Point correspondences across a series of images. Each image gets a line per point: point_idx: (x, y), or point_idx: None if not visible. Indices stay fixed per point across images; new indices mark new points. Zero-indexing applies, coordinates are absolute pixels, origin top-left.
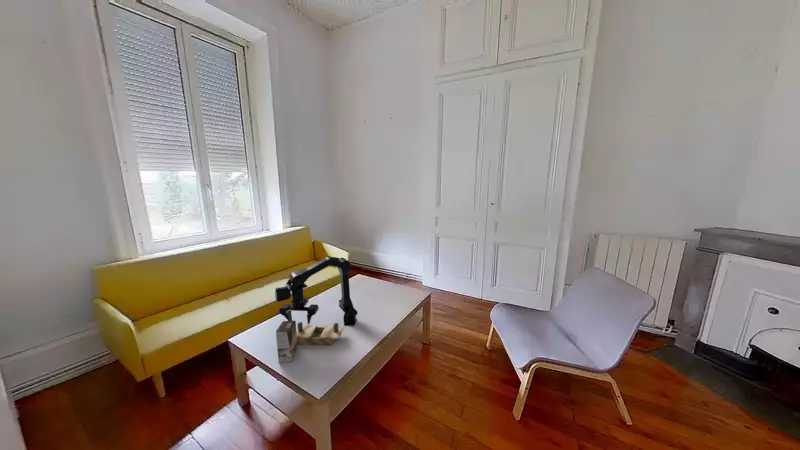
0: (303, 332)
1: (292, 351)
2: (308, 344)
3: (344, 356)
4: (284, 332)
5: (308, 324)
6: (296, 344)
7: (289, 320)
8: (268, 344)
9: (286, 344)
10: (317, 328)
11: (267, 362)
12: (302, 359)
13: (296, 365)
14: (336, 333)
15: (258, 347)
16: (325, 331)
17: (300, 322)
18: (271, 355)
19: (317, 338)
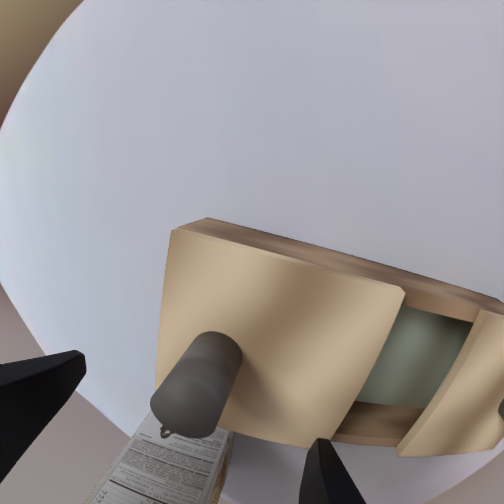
0: (255, 392)
1: (218, 498)
2: None
3: (457, 461)
4: None
5: (311, 453)
6: (225, 459)
7: (44, 423)
8: (62, 305)
9: None
10: (402, 302)
11: (122, 429)
12: (277, 469)
13: (254, 484)
14: (502, 420)
15: (39, 313)
16: (456, 404)
17: (183, 400)
18: (115, 399)
19: (377, 445)
